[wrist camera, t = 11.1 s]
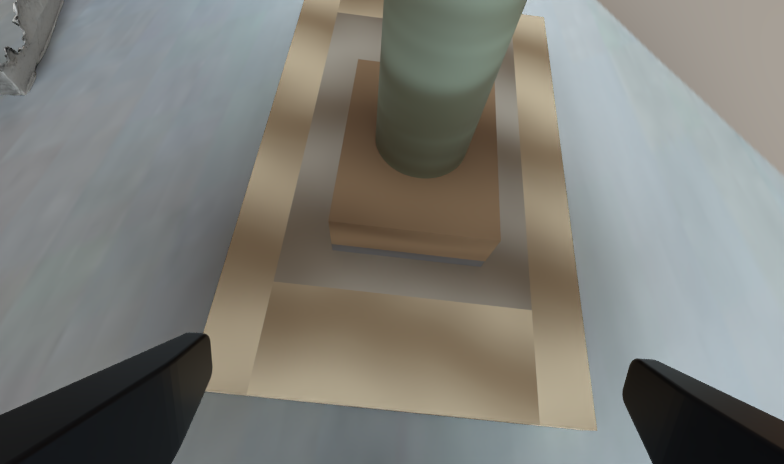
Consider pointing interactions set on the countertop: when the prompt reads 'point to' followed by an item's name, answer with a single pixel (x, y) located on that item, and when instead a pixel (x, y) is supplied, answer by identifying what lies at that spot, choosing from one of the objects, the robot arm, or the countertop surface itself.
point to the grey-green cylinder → (425, 135)
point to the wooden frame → (401, 260)
